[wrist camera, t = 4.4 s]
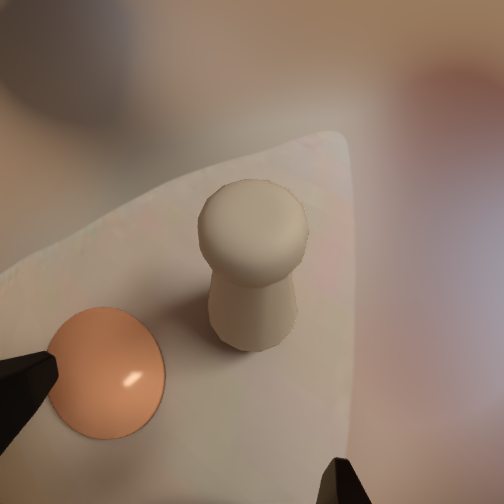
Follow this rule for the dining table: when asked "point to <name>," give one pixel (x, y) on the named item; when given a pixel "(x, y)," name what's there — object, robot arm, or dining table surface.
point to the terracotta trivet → (106, 373)
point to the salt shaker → (252, 261)
